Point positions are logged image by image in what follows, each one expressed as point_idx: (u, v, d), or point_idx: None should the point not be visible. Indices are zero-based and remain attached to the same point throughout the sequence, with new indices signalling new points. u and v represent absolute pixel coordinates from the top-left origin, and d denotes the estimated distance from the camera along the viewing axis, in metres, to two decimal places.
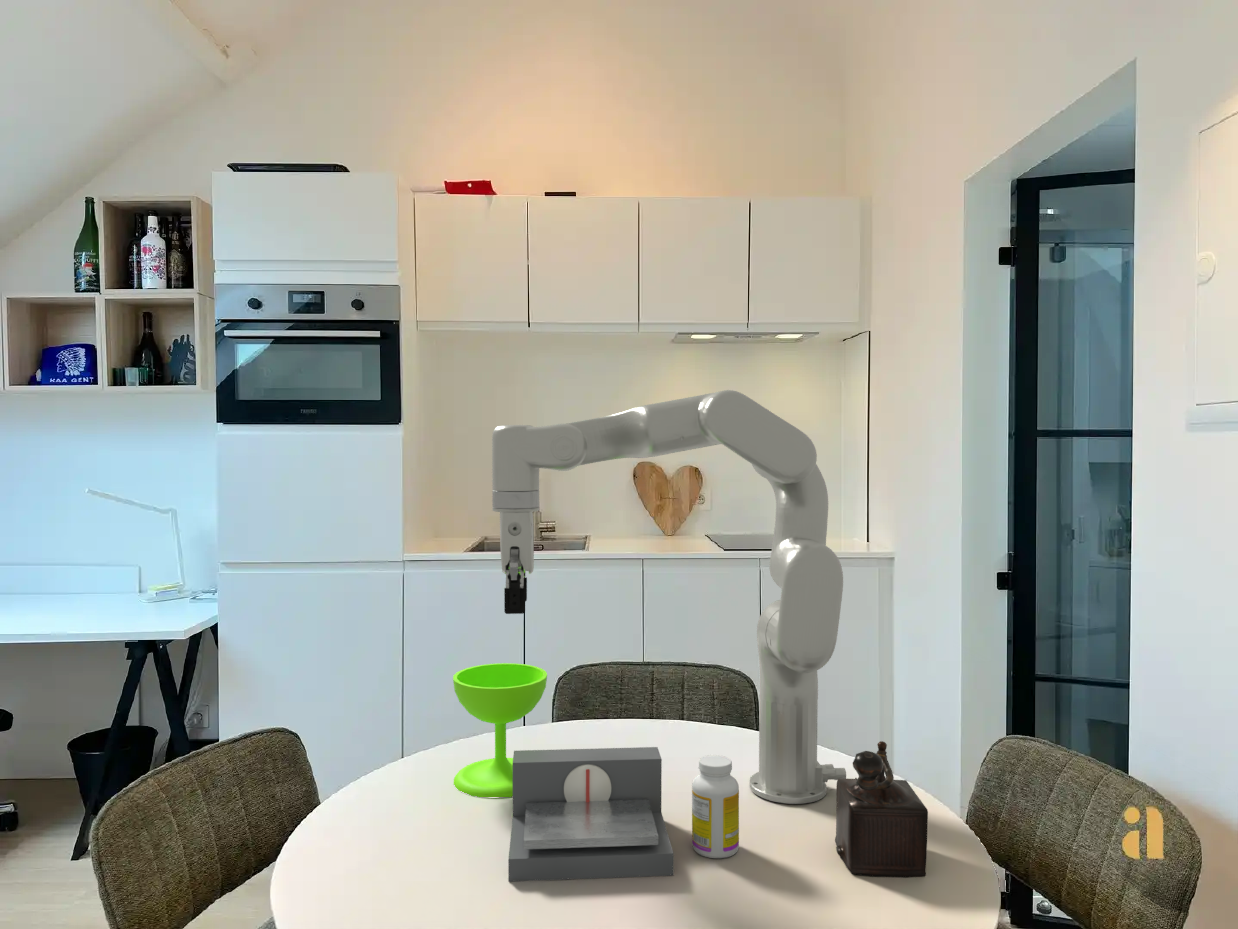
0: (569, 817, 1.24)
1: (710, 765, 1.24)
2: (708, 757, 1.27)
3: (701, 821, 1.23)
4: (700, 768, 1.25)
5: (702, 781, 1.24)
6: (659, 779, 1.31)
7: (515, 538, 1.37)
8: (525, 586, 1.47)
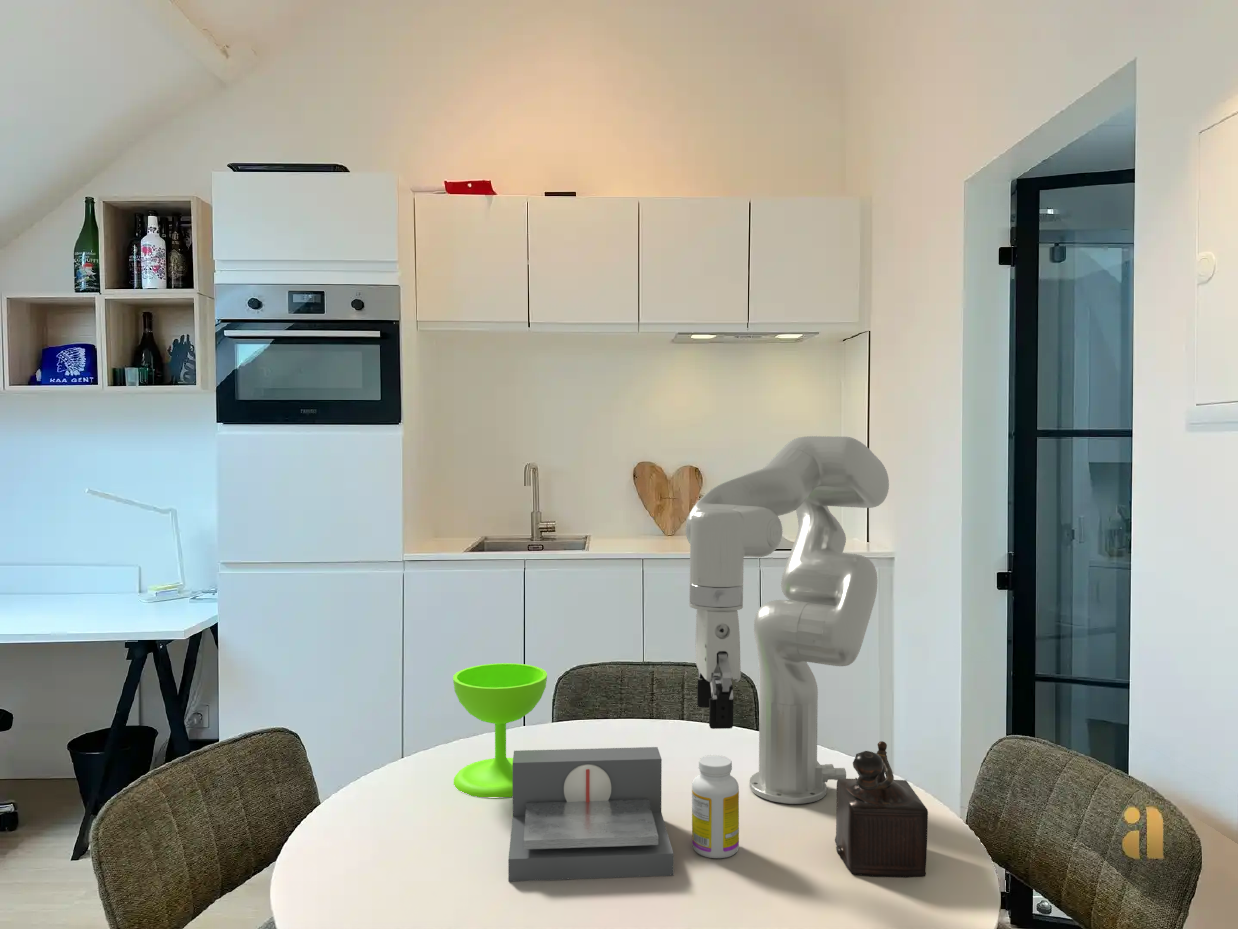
0: (569, 817, 1.24)
1: (709, 765, 1.24)
2: (708, 757, 1.27)
3: (701, 821, 1.23)
4: (700, 768, 1.25)
5: (702, 781, 1.24)
6: (659, 779, 1.31)
7: (723, 642, 1.20)
8: None
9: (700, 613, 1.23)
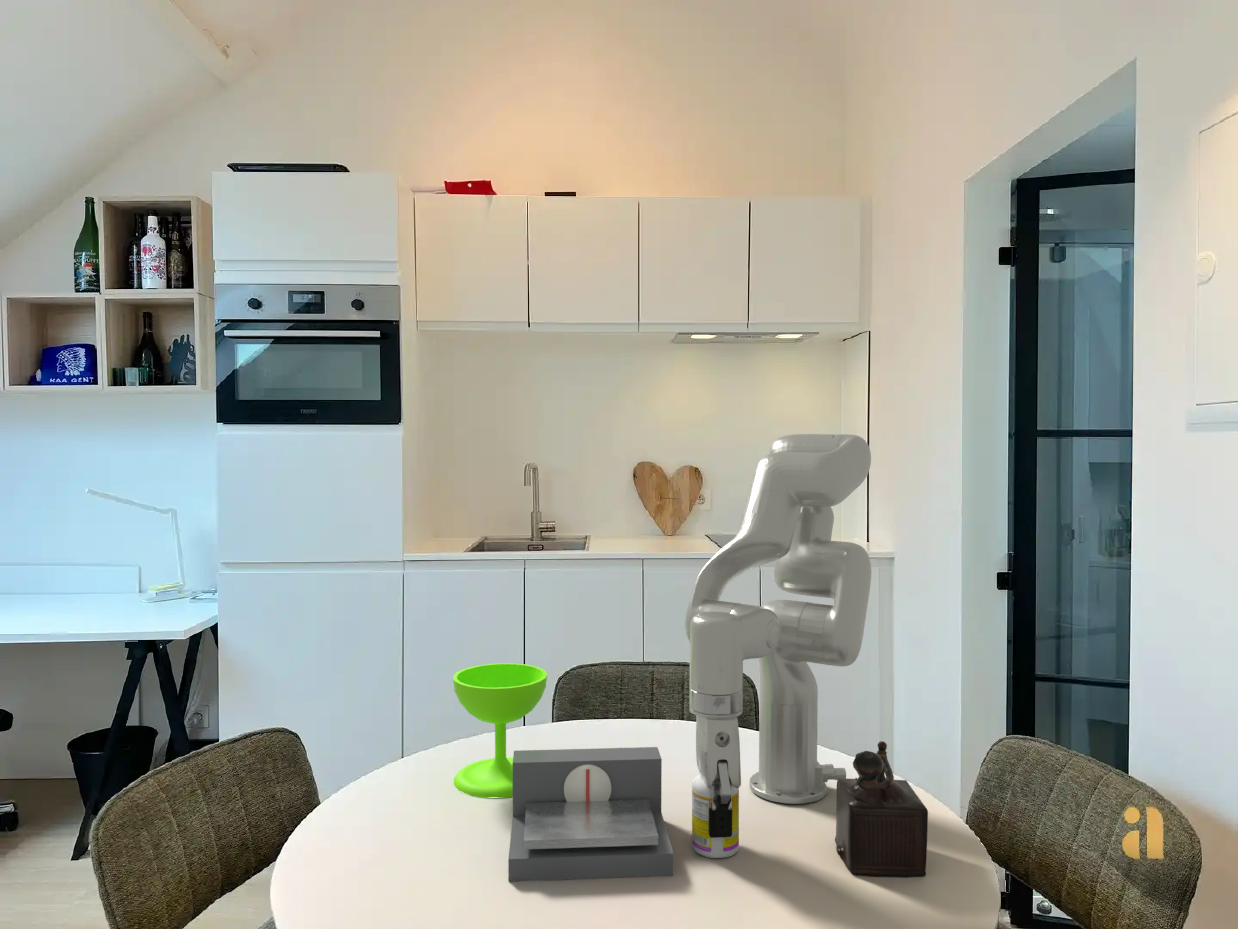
0: (569, 817, 1.24)
1: None
2: None
3: (701, 821, 1.23)
4: (700, 768, 1.25)
5: (702, 781, 1.24)
6: (659, 779, 1.31)
7: (723, 750, 1.20)
8: None
9: (700, 719, 1.24)
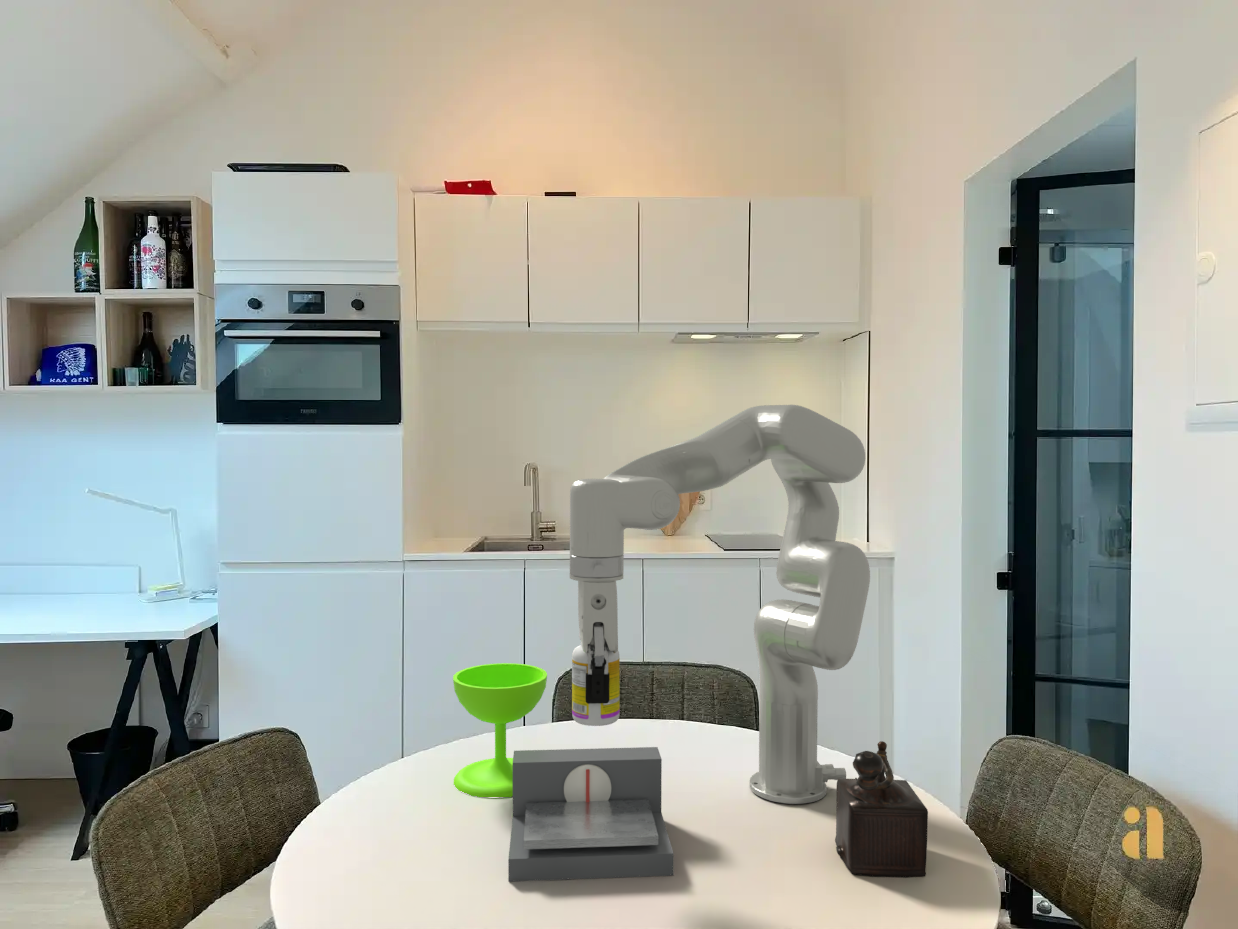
0: (569, 817, 1.24)
1: None
2: None
3: (579, 688, 1.21)
4: None
5: (581, 648, 1.22)
6: (659, 779, 1.31)
7: (599, 612, 1.18)
8: None
9: (579, 584, 1.21)
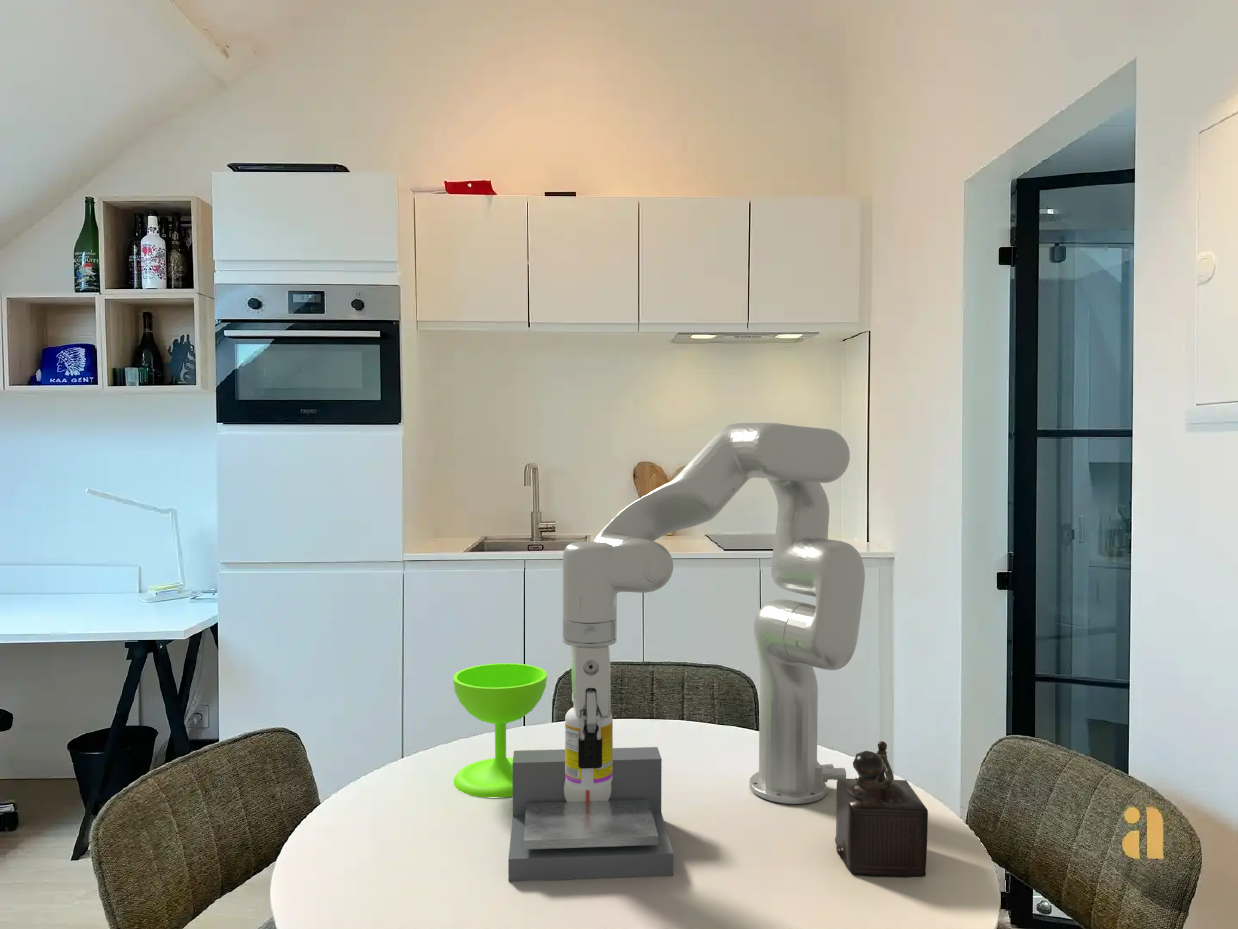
0: (569, 817, 1.24)
1: None
2: None
3: (572, 752, 1.21)
4: (572, 699, 1.22)
5: (574, 712, 1.22)
6: (659, 779, 1.31)
7: (591, 678, 1.18)
8: None
9: (572, 648, 1.21)
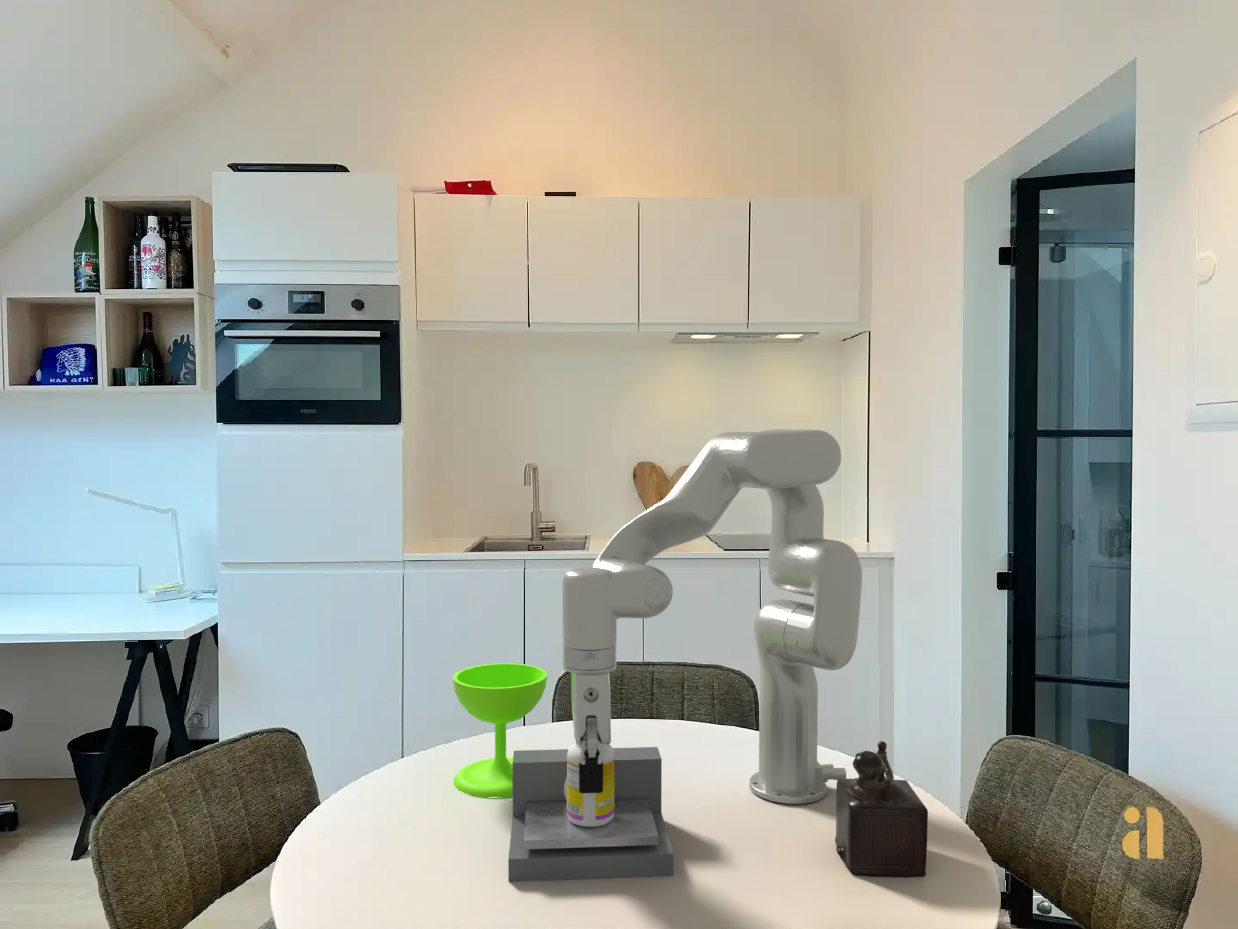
0: None
1: None
2: None
3: (574, 789, 1.21)
4: (574, 736, 1.22)
5: (576, 749, 1.22)
6: (659, 779, 1.31)
7: (592, 706, 1.18)
8: None
9: (572, 675, 1.21)
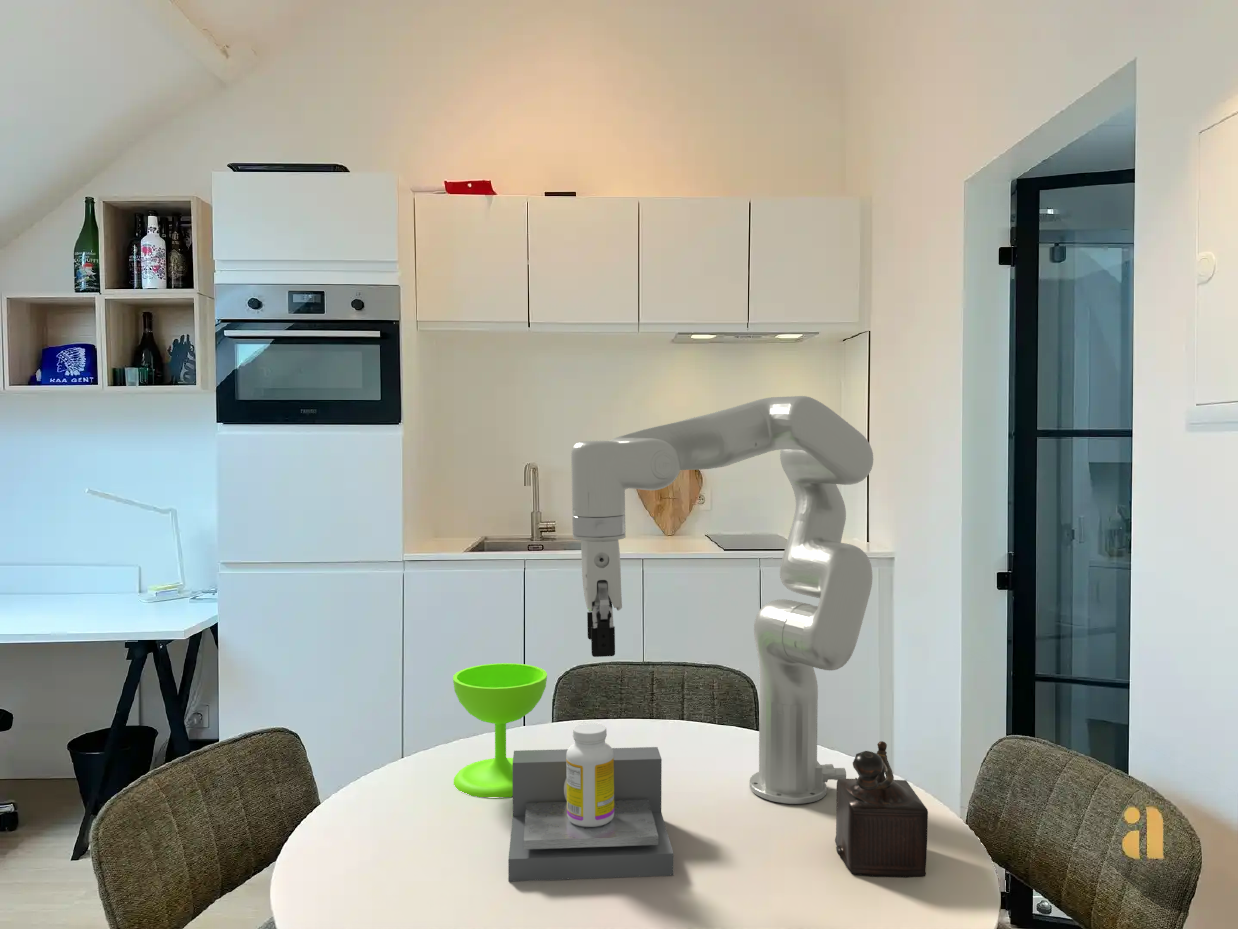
0: None
1: (582, 732, 1.22)
2: (584, 725, 1.25)
3: (573, 789, 1.21)
4: (573, 736, 1.23)
5: (575, 749, 1.22)
6: (659, 779, 1.31)
7: (602, 571, 1.20)
8: None
9: (582, 544, 1.23)
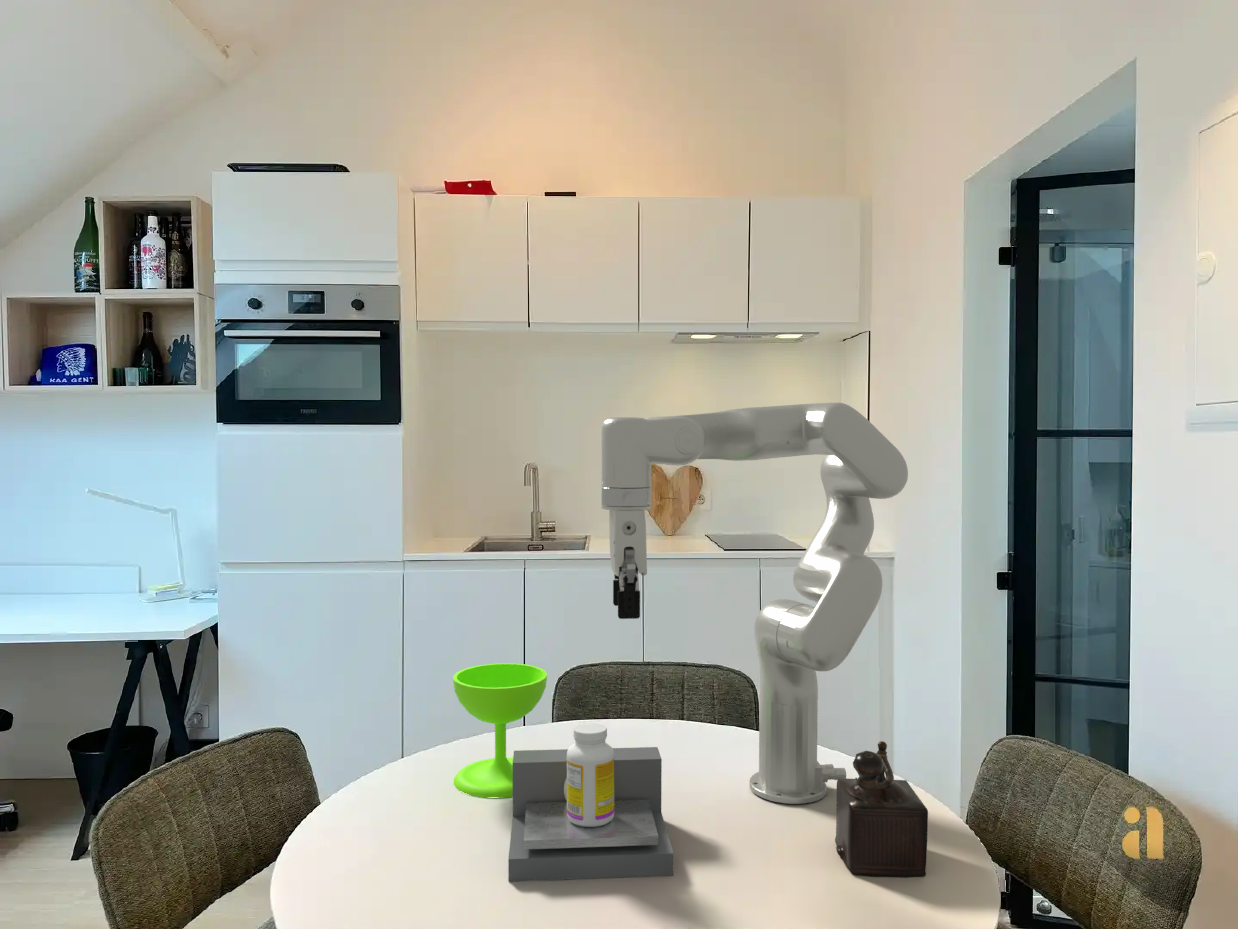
0: None
1: (583, 732, 1.22)
2: (584, 725, 1.25)
3: (574, 789, 1.21)
4: (574, 736, 1.23)
5: (575, 749, 1.22)
6: (659, 779, 1.31)
7: (629, 538, 1.28)
8: None
9: (610, 514, 1.32)
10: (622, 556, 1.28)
